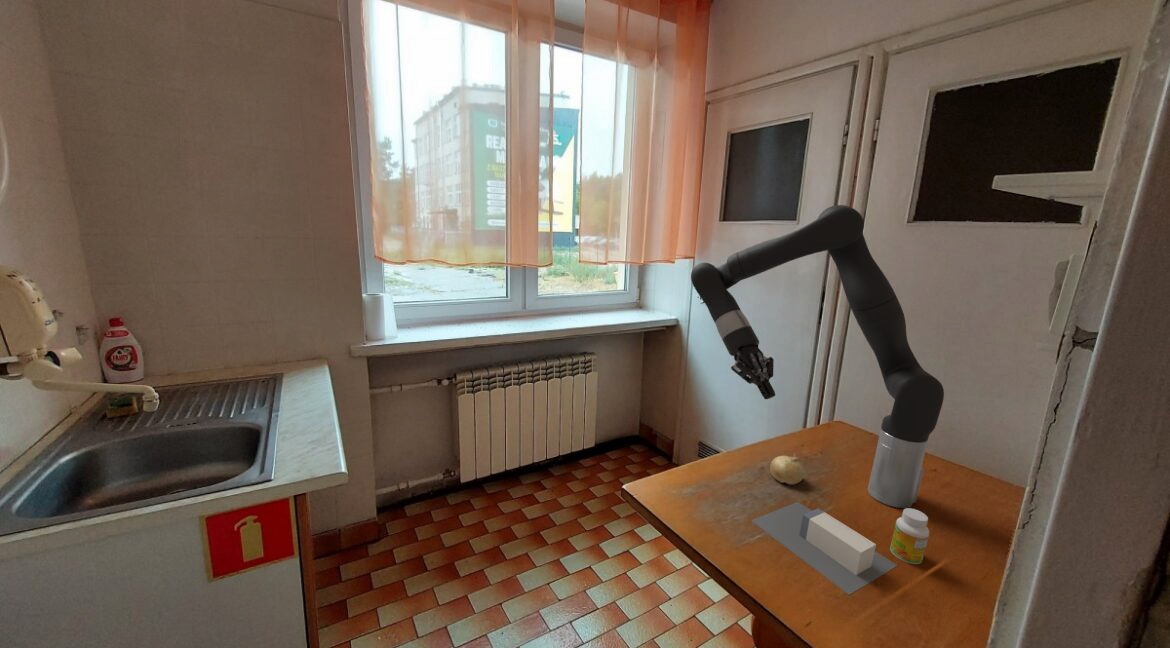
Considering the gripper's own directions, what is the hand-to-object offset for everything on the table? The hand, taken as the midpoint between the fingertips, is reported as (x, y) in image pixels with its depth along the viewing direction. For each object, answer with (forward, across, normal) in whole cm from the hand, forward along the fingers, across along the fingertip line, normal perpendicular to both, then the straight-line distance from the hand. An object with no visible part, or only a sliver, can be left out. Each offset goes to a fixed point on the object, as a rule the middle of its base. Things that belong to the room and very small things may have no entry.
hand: (770, 397), depth 101 cm
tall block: (+26, -1, +6) cm, 27 cm away
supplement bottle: (+38, +12, -2) cm, 40 cm away
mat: (+30, -1, +6) cm, 31 cm away
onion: (+18, +14, +19) cm, 29 cm away
